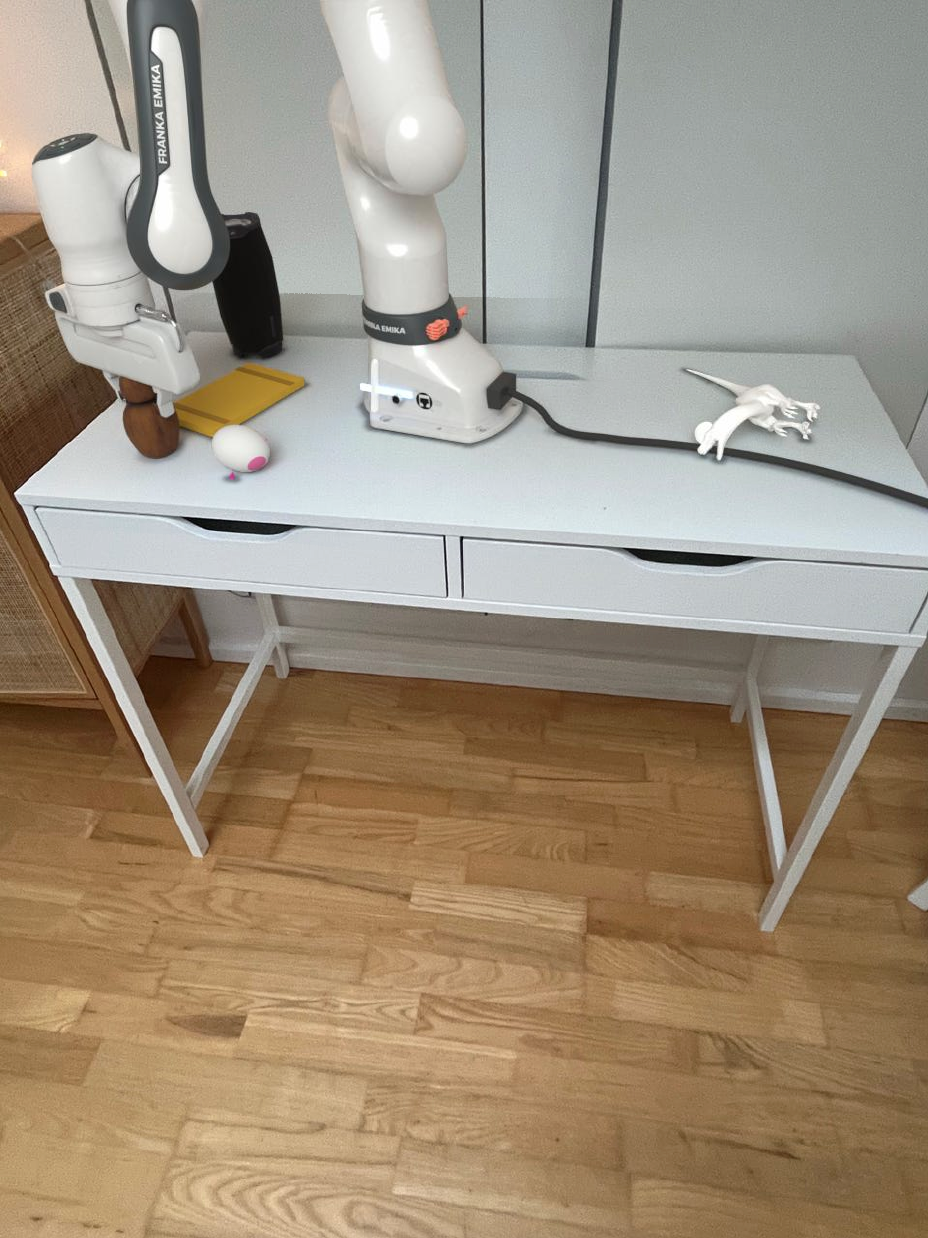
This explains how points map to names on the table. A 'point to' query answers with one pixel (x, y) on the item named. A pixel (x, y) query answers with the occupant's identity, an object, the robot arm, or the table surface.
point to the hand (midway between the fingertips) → (147, 408)
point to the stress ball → (240, 448)
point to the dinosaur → (750, 414)
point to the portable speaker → (249, 290)
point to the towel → (234, 398)
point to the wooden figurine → (147, 421)
